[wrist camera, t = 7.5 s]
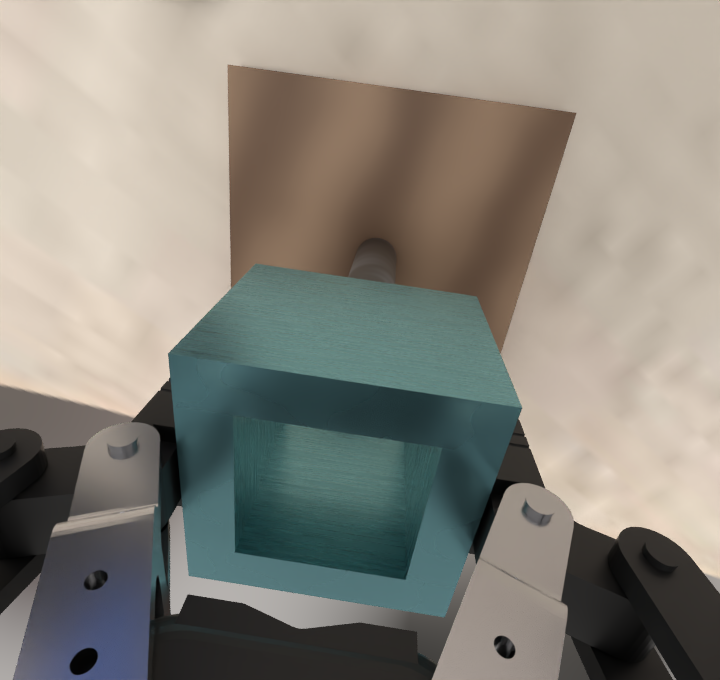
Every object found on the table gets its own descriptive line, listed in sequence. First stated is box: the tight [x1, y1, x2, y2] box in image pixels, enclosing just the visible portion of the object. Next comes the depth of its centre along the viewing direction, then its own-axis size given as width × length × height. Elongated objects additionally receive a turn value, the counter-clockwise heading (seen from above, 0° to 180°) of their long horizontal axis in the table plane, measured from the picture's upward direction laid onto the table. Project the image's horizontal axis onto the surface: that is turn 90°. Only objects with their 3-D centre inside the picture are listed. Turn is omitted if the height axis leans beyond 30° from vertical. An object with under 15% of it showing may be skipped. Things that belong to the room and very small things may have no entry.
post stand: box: [228, 65, 576, 353], centre depth 20 cm, size 16×16×10 cm
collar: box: [168, 264, 522, 617], centre depth 11 cm, size 6×6×5 cm
